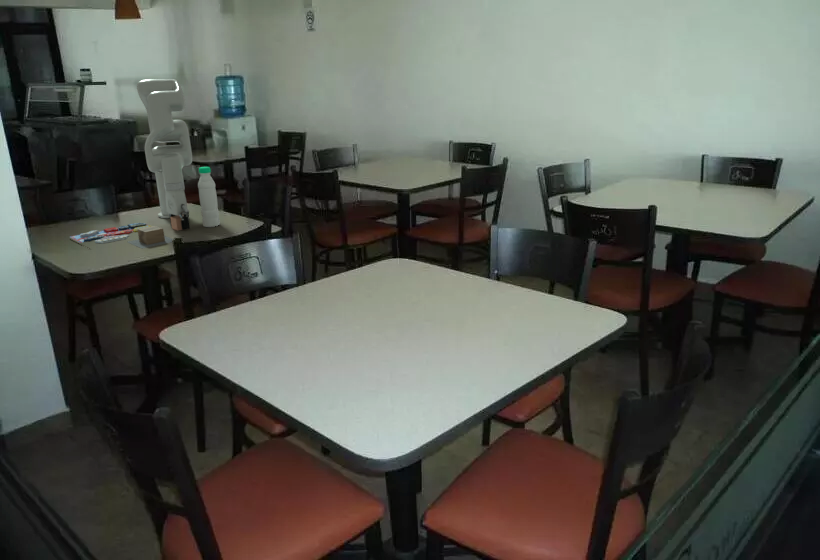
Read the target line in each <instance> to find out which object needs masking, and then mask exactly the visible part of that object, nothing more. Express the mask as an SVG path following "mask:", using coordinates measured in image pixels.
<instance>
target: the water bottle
mask: <svg viewBox="0 0 820 560" xmlns="http://www.w3.org/2000/svg"><path fill="white" fill-rule="evenodd" d="M211 170H212V169H211V167H210V166H201V167H199V168H198V174H199V175H200V177H199V180H198V181H197V188H198V197H199V204H200V208H201V210H200V211H201V212H200V213H201V217H202V219H201V221H202V226H203V227H205V228H216V227H219V226H220V224H221V221H220V212H219V209H218V207H219V205H218V196H217V190H216V183H215V181H214V179H213V178H212V176H211V172H212V171H211ZM218 225H219V226H218ZM215 226H216V227H215Z"/></svg>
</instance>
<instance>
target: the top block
mask: <svg viewBox="0 0 820 560" xmlns="http://www.w3.org/2000/svg"><path fill="white" fill-rule="evenodd" d="M182 216H184V215H182ZM170 218H171V223H170V226H171V225H172V226H171V230H175V231H177V232H178V231H182V226H181V217H180V215H179V216H173V217H170ZM170 218H169V219H170Z"/></svg>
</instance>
